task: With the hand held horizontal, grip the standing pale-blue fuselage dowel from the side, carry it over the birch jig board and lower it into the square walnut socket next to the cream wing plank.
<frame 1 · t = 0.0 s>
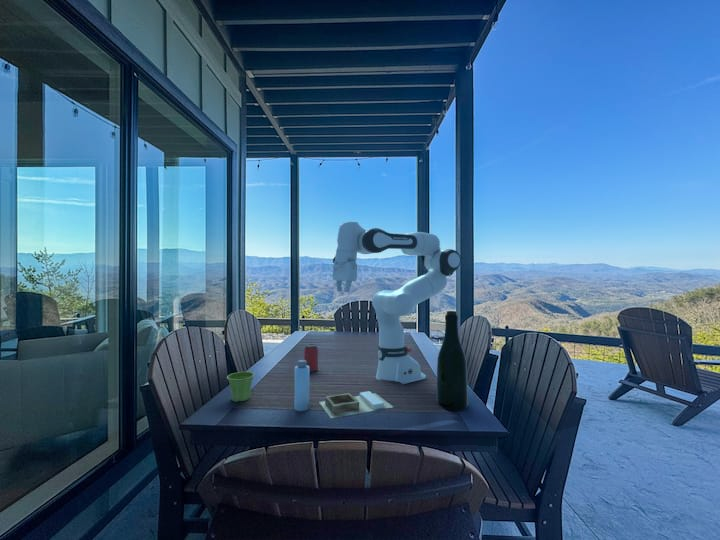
hand: (342, 291, 134), 39 cm above the table, tool pointing down, fingers open, 8 cm apart
plant pot: (240, 399, 118), on the table
beer bottle: (452, 406, 112), on the table
wing: (371, 401, 112), point 1 cm above the table, touching jig
fuselage: (301, 408, 109), on the table
beer can: (311, 370, 154), on the table
jig: (355, 408, 109), on the table
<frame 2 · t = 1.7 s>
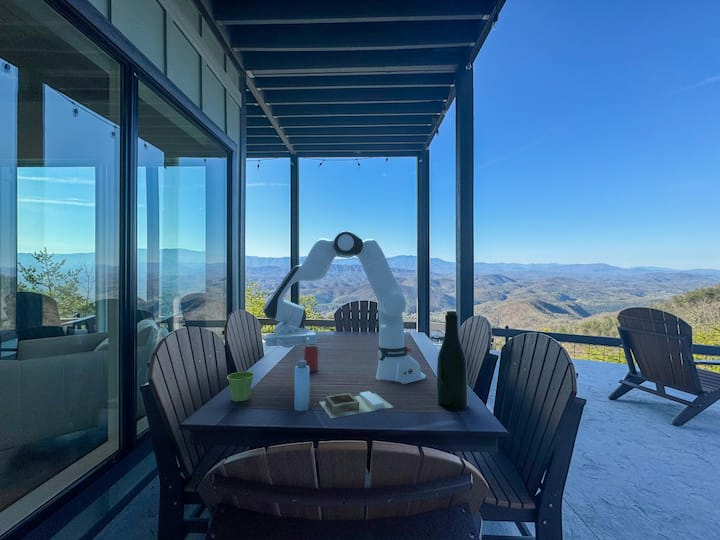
hand: (294, 342, 121), 20 cm above the table, tool horizontal, fingers open, 8 cm apart
nothing on the table moved.
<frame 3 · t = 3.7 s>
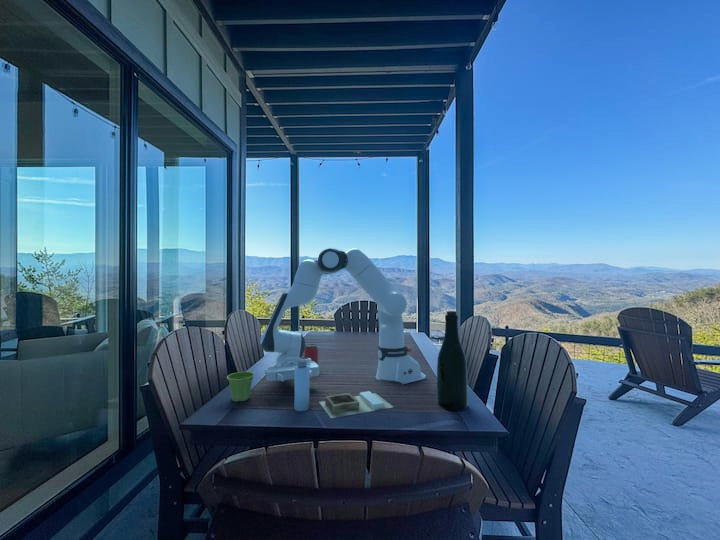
hand: (296, 377, 117), 8 cm above the table, tool horizontal, fingers open, 8 cm apart
nothing on the table moved.
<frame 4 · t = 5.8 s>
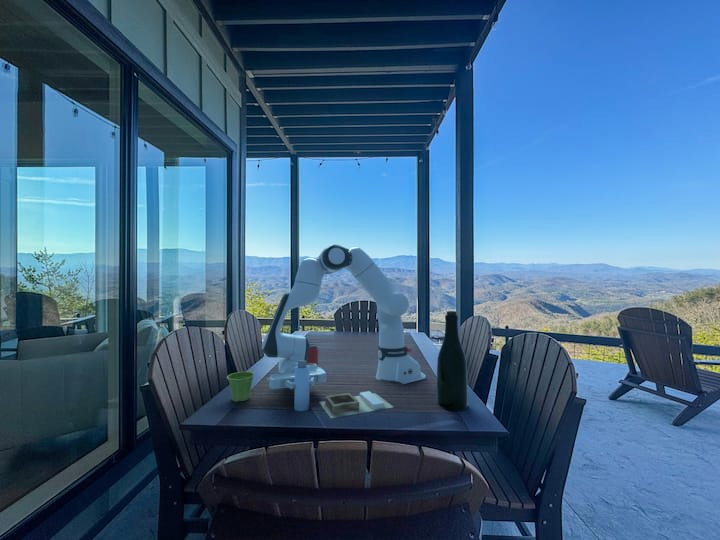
hand: (302, 385, 109), 8 cm above the table, tool horizontal, fingers closed on fuselage, 5 cm apart
fuselage: (301, 408, 109), on the table, touching gripper
everything else where it was.
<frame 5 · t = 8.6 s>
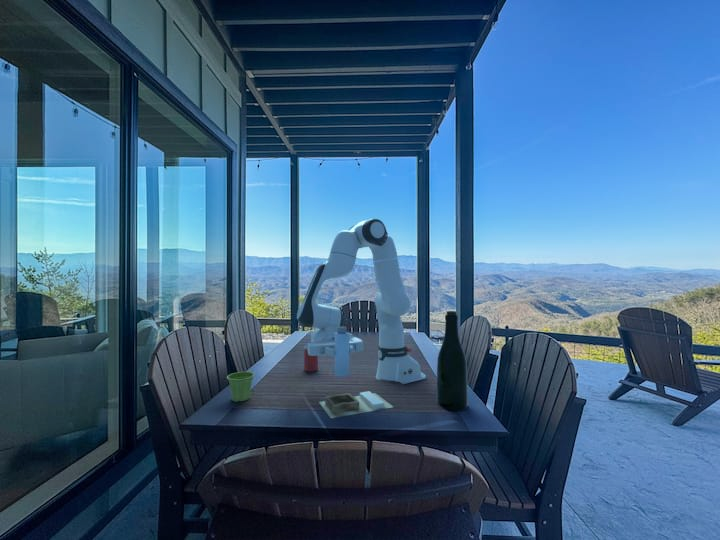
hand: (342, 351, 107), 20 cm above the table, tool horizontal, fingers closed on fuselage, 5 cm apart
fuselage: (341, 374, 108), point 12 cm above the table, touching gripper
everything else where it was.
when the fingers open (11 cm above the table, at t = 11.2 s): fuselage drops 1 cm, resting on jig.
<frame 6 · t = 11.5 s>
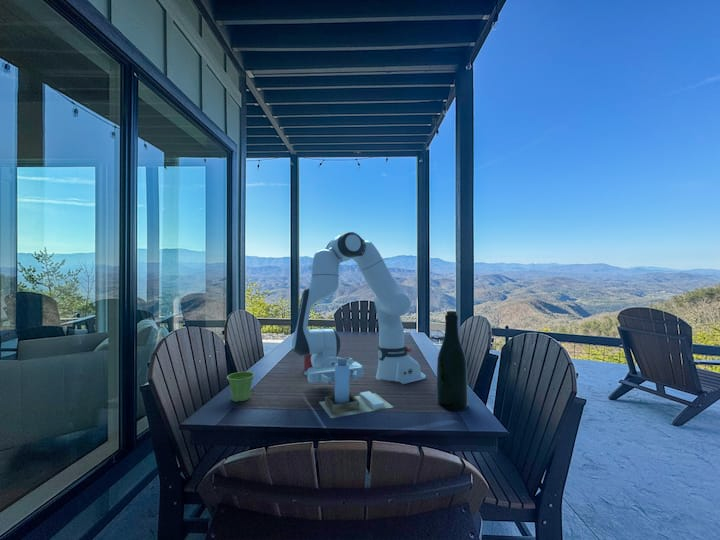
hand: (342, 379, 107), 11 cm above the table, tool horizontal, fingers open, 8 cm apart
fuselage: (341, 406, 108), point 1 cm above the table, touching jig
everything else where it was.
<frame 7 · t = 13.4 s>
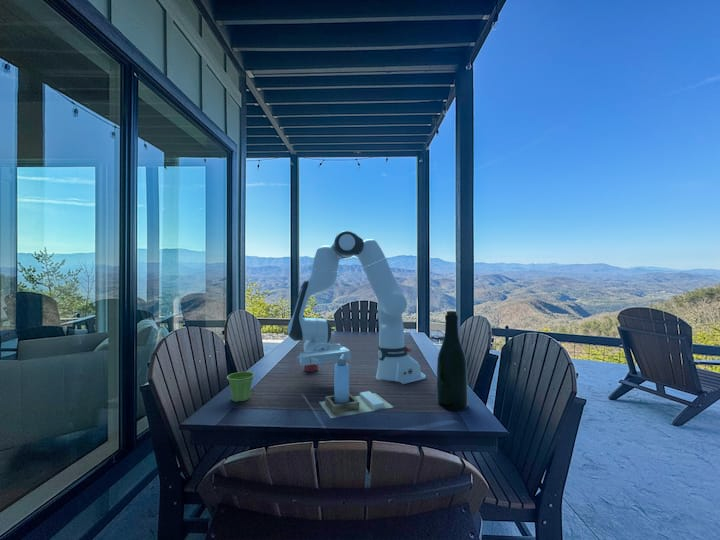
hand: (330, 361, 120), 13 cm above the table, tool horizontal, fingers open, 8 cm apart
nothing on the table moved.
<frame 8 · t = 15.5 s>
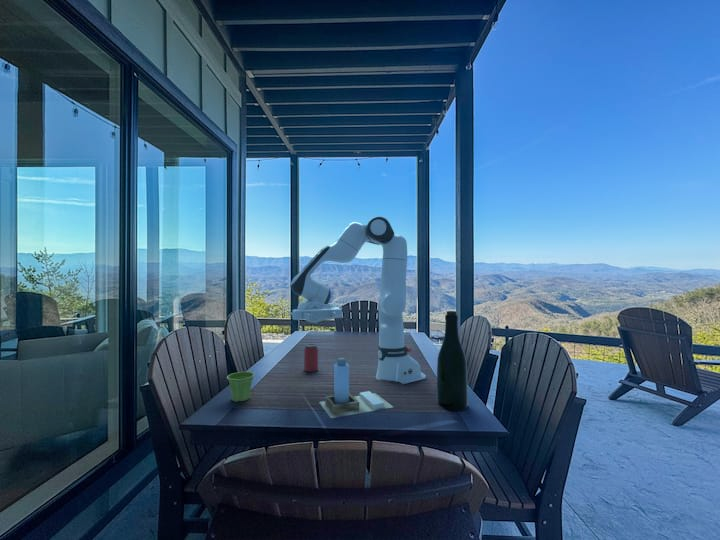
hand: (322, 315, 123), 30 cm above the table, tool horizontal, fingers open, 8 cm apart
nothing on the table moved.
at the end: fuselage 0.0 cm from the target spot on the jig, point 1.2 cm above the jig's base; fuselage tilted 1°; the gripper is holding nothing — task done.
